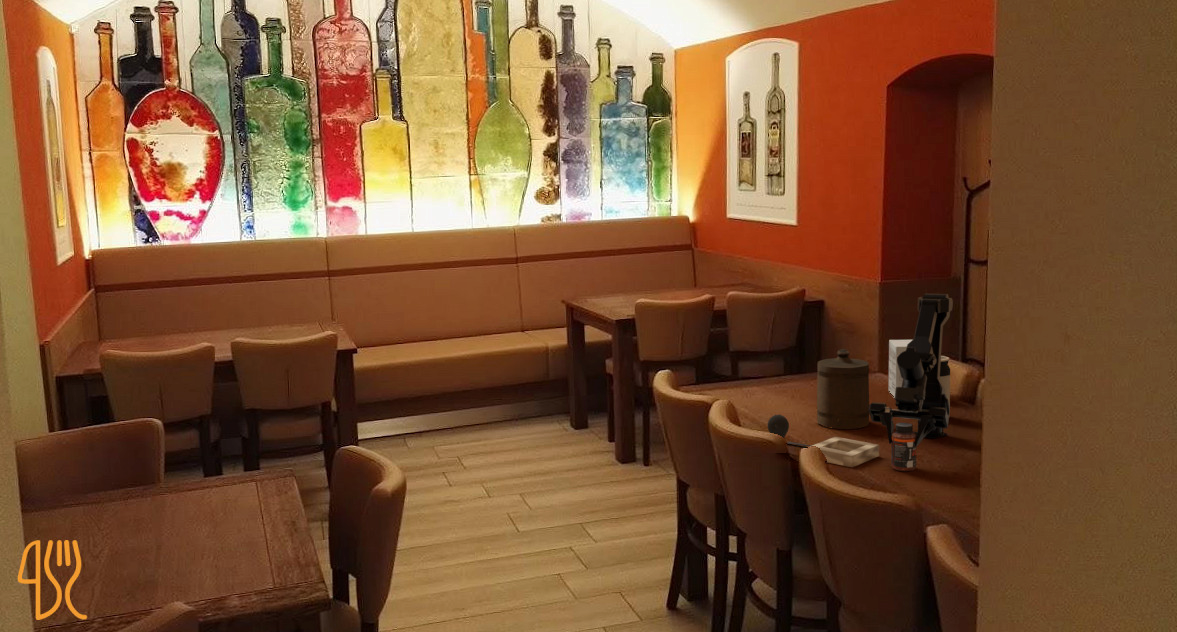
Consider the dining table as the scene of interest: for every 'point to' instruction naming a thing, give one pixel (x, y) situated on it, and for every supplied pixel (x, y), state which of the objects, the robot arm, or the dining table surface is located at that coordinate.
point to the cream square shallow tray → (847, 451)
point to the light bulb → (778, 425)
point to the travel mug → (945, 376)
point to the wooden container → (843, 392)
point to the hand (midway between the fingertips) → (902, 444)
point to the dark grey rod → (798, 444)
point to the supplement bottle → (903, 448)
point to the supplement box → (895, 363)
